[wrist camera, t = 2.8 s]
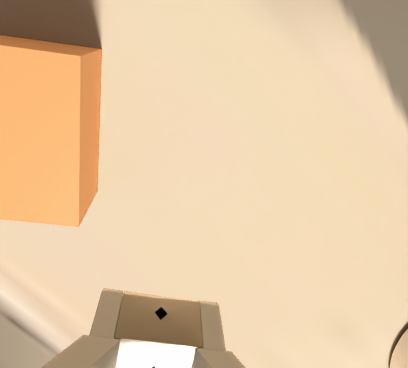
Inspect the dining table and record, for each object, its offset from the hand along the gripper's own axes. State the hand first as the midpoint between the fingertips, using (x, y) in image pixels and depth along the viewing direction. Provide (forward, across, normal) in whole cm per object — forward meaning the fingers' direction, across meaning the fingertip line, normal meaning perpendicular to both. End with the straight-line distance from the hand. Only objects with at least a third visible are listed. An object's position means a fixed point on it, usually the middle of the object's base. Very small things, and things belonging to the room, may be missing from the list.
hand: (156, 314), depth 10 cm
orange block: (+16, +7, 0) cm, 17 cm away
